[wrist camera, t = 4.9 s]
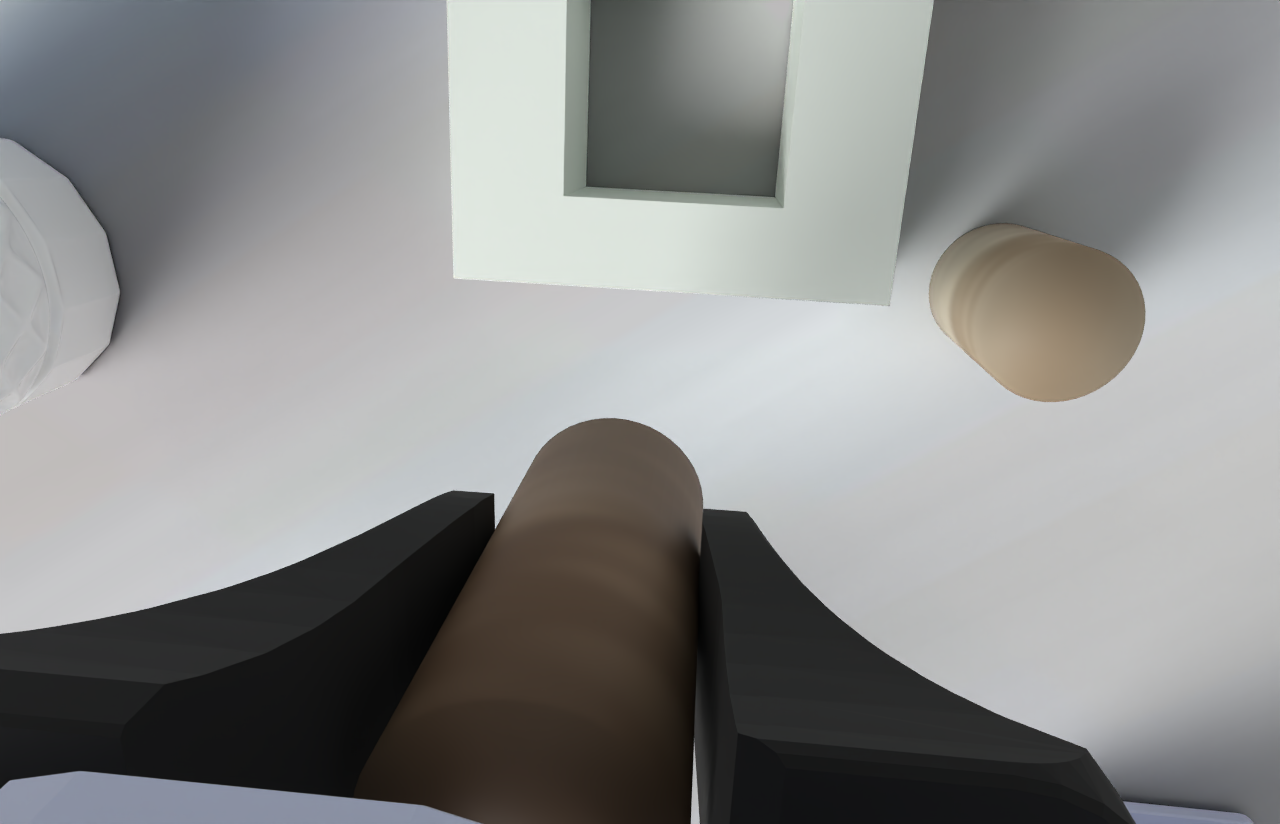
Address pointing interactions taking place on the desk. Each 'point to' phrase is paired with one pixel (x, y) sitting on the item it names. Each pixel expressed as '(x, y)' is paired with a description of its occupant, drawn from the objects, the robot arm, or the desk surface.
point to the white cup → (49, 280)
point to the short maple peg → (1038, 310)
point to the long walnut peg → (565, 649)
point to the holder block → (683, 221)
